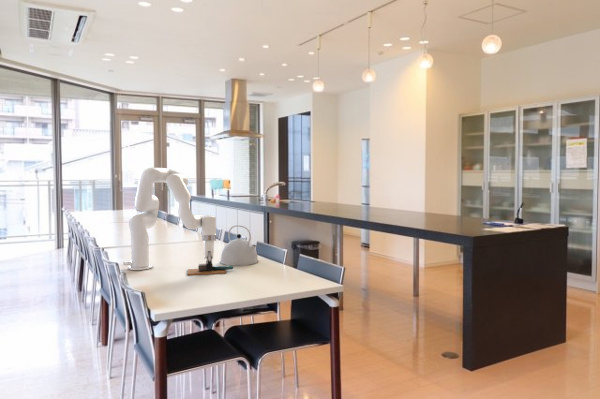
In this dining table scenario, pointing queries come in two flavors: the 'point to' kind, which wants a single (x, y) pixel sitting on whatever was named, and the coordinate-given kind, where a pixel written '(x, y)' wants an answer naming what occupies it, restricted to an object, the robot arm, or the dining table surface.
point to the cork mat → (196, 272)
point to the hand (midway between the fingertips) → (209, 269)
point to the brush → (203, 267)
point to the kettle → (239, 251)
